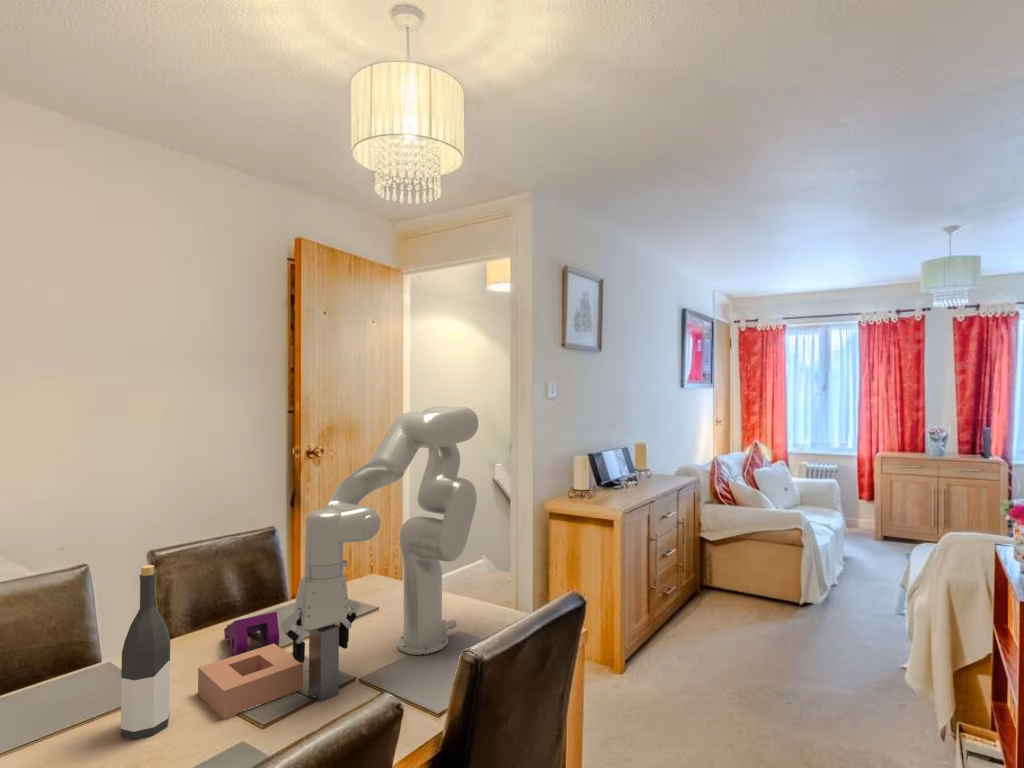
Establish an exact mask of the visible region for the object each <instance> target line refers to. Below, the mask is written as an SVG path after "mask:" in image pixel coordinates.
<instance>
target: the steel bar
mask: <svg viewBox="0 0 1024 768" xmlns="http://www.w3.org/2000/svg"><path fill="white" fill-rule="evenodd" d="M339 626H340V625H336V624H333V625H330V626H327V627H323V628H320V629H316V630H312V631H309V632H308V634H309V635H308V694H309V693H311V694H312V695H313V696H315V697H316V698H317V699H318V700H317V699H316V698H315V697H314V698H315V699H316V700H317V701H318V702H325V701H326V700H328V699H331V698H333V697H336V696H339V691H340V688H339V687H340V686H339V685H340V684H339V682H340V681H339V673H340V672H339V669H340V667H339V663H340V660H339V659H340V657H339V656H340V653H339V650H340V646H339ZM312 695H311V696H312ZM313 696H312V697H313Z"/></svg>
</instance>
